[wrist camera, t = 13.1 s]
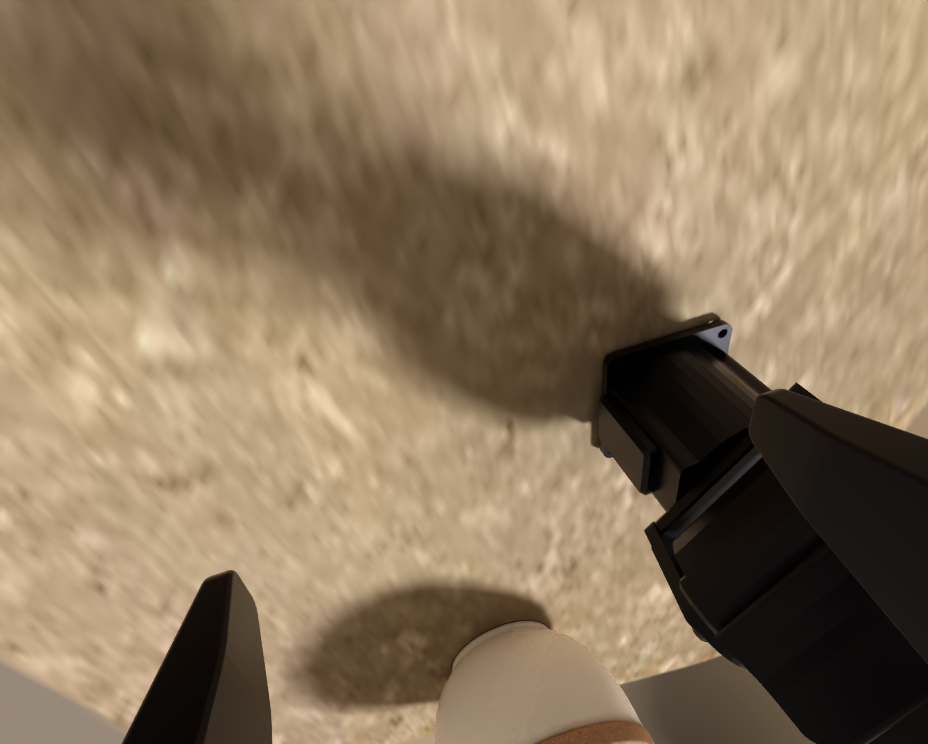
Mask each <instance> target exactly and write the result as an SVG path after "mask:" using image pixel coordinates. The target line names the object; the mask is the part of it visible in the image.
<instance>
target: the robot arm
mask: <svg viewBox="0 0 928 744" xmlns="http://www.w3.org/2000/svg"><path fill="white" fill-rule="evenodd" d="M731 333H732V327H731V325H729V324H728V323H727V322H725V321H723V320H719V321H715V322H712V323H709V324H705V325H702V326H699V327H695V328H692V329H689V330H685V331H682V332H679V333H676V334H672V335H669V336H666V337H662V338H659V339H656V340H652V341H649V342H646V343H642V344H639V345H636V346H632V347H629V348H626V349H622V350H619V351H616V352H613V353H611V354H609V355H608V356H607V357H606V358H605V360H604V362H603V381H602V396H601V399H600V401H599V424H598V437H599V439H600V450H601V452H602V453H603V455H604V456H605V457H607V458H611V457H613V458H614V459H615V460H616V462H617V463H618V464H619V466H620V467H621V468H622V470H623V471H624V472H625V474H626V475H627V476H628V478H629V479H630V480H631V482H632V483H633V484H634V486H635V487H636V488H637V490H638V491H639V492H640V493H642V494H644V495H647V494H650V493H652V494H653V495H654V497H655V498H656V499H657V500H658V502H659V503H660V504H661V506H662V507H663V508H664V510H665V511H666V513H665V514H663V515H662V516H661V517H660V518H659V519H658V520H657V521H656V522H652V523H651V524H650V525H649V526H648V527H647V528H646V529H645V530H644V531H645V533H646V535H647V538H648V540H649V542H650V544H651V546H652V547H651V548H652V551H653V553H654V555H655V557H656V559H657V561H658V563H659V565H660V567H661V569H662V571H663V574H664V576H665V578H666V580H667V582H668V584H669V586H670V588H671V590H672V592H673V594H674V597H675V599H676V601H677V603H678V605H679V607H680V609H681V611H682V613H683V615H684V617H685V619H686V621H687V622H688V623H689V625H690V626H691V627H692V629H693V632H694V633H695V635H696V636H697V637H698V638H699V639H700V640H702V641H704V642H708V643H709V644H710V645H711V646H712V647H713V648H715V649H716V650H717V651H718V652H719V653H720V654H721V655H723V656H724V657H725V658H727V659H728V660H729V661H731V662H733V663H734V664H736V665H738V666H740V667H743V668H747V669H748V671H749V672H750V673H751V674H752V675H753V676H754V677H755V678H756V679H757V680H758V681H759V682H760V683H761V684H762V685H763V687H764V688H765V689H766V690H767V691H768V692H769V694H770V695H771V696H772V697H773V698H774V699H775V701H776V702H777V703H778V704H779V706H780V707H781V708H782V709H783V710H784V712H785V713H786V714H787V715H788V717H789V718H790V719H791V720H792V722H793V723H794V724H795V725H796V726H797V728H798V729H799V730H800V731H801V733H802V734H803V735H804V736H805V737H807V738H808V739H809V740H811V741H813V742H815V743H816V744H928V439H926V438H923V437H920V436H917V435H915V434H912V433H909V432H906V431H903V430H900V429H897V428H895V427H892V426H889V425H886V424H883V423H880V422H877V421H875V420H872V419H869V418H866V417H863V416H860V415H857V414H854V413H852V412H849V411H846V410H843V409H840V408H837V407H834V406H832V405H829V404H826V403H823V402H822V401H820V400H819V399H818V398H816V397H815V396H814V395H812V394H811V393H810V392H808V391H807V390H806V389H804V388H803V387H802V386H800V385H799V384H798V383H795V384H794V385H793V386H792V387H791V388H790V389H789V390H785V389H775V390H771V389H769V388H768V387H767V386H766V385H764V384H763V383H762V382H761V381H760V380H758V379H757V378H756V377H755V376H753V375H752V374H751V373H750V372H749V371H747V370H746V369H745V368H744V367H742V366H741V365H740V364H739V363H738V362H736V361H735V360H734V359H733V358H731V357H730V356H729V355H728V354H727V353H728V348H729V343H730V338H731ZM615 362H617V363H616V364H614V363H615ZM613 364H614V365H613ZM122 744H272V723H271V708H270V700H269V692H268V685H267V678H266V670H265V663H264V656H263V649H262V642H261V634H260V627H259V620H258V613H257V608H256V605H255V602H254V599H253V597H252V596H251V594H250V593H249V591H248V589H247V588H246V586H245V585H244V583H243V582H242V580H241V578H240V577H239V575H238V574H237V573H236V572H235V571H233V570H228V571H225V572H222V573H219V574H216V575H213V576H210V577H208V578H207V579H206V580H205V581H204V582H203V583H202V585H201V587H200V589H199V591H198V593H197V595H196V597H195V599H194V601H193V603H192V605H191V607H190V609H189V611H188V613H187V615H186V617H185V619H184V621H183V623H182V625H181V627H180V629H179V631H178V633H177V635H176V637H175V639H174V641H173V643H172V645H171V647H170V649H169V651H168V653H167V655H166V657H165V659H164V660H163V662H162V664H161V666H160V668H159V670H158V672H157V674H156V676H155V678H154V680H153V682H152V684H151V686H150V688H149V690H148V692H147V694H146V696H145V698H144V700H143V702H142V704H141V706H140V708H139V710H138V712H137V714H136V716H135V718H134V720H133V722H132V724H131V726H130V728H129V730H128V732H127V734H126V736H125V738H124V740H123V742H122Z"/></svg>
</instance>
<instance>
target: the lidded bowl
mask: <svg viewBox="0 0 928 744" xmlns="http://www.w3.org/2000/svg"><path fill="white" fill-rule="evenodd" d="M435 744H655V743H654V741H653V740H652V738H651V736H650V734H649V733H648V731H647V730H646V729H645V728H644V727H643V726H642V724H641V722H640V720H639V719H638V716H637V715H636V713H635V711H634V709H633V707H632V706H631V704H630V702H629V700H628V699H627V697H626V695H625V693H624V692H623V690H622V689H621V687H620V686H619V684H618V683H617V681H616V680H615V679H614V677H613V676H612V674H611V673H610V672H609V671H608V669H607V668H606V667H605V666H604V665H603V663H602V662H601V661H600V660H599V659H598V657H597V656H595V655H594V654H593V653H592V652H591V651H590V650H589V649H588V648H587V647H585V646H584V645H582V644H581V643H579V642H578V641H576V640H574V639H573V638H571V637H569V636H567V635H565V634H562V633H559V632H556V631H553V630H550V629H548V627H547V626H545V625H544V624H542V623H539V622H535V621H518V622H513V623H508V624H505V625H501V626H499V627H496V628H494V629H491V630H489V631H487V632H485V633H483V634H482V635H480V636H478V637H477V638H475V639H474V640H472V641H471V642H470V643H469V644H467V645H466V646H465V647H464V648H463V649H462V650H461V651H460V652H459V654H458V655H457V656H456V658H455V660H454V662H453V665H452V673H451V675H450V677H449V678H448V680H447V682H446V684H445V686H444V689H443V691H442V694H441V697H440V700H439V704H438V708H437V712H436V720H435Z"/></svg>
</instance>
